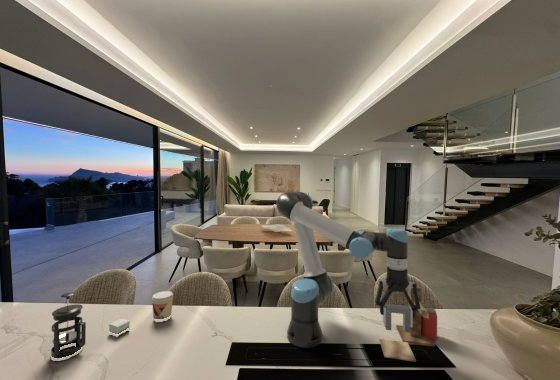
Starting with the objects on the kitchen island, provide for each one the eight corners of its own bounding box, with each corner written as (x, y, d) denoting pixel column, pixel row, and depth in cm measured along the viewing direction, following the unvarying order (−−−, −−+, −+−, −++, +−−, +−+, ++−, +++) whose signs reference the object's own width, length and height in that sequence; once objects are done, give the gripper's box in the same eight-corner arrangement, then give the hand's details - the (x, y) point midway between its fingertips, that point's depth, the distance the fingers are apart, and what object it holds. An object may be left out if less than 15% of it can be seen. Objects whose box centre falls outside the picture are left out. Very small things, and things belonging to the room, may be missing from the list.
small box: (117, 338, 104) (117, 326, 104) (108, 335, 106) (108, 324, 106) (130, 331, 109) (130, 320, 109) (121, 328, 111) (121, 317, 111)
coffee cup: (147, 323, 116) (147, 297, 116) (160, 313, 125) (160, 290, 125) (165, 325, 114) (165, 299, 114) (176, 315, 123) (176, 291, 123)
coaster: (384, 357, 93) (384, 355, 93) (379, 340, 104) (379, 338, 104) (416, 361, 91) (416, 360, 91) (407, 343, 102) (407, 342, 102)
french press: (41, 362, 89) (42, 299, 89) (64, 345, 98) (64, 288, 98) (73, 362, 89) (74, 299, 89) (93, 346, 98) (93, 289, 98)
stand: (408, 355, 95) (409, 298, 95) (396, 327, 114) (396, 280, 114) (443, 360, 92) (443, 301, 92) (424, 330, 111) (424, 282, 112)
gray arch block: (385, 329, 97) (385, 307, 97) (384, 325, 100) (384, 303, 100) (410, 332, 95) (410, 309, 95) (408, 328, 98) (408, 306, 98)
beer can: (439, 342, 103) (440, 314, 103) (422, 340, 104) (422, 312, 104) (433, 333, 109) (433, 306, 109) (417, 331, 111) (417, 305, 111)
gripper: (369, 268, 96) (369, 325, 96) (430, 272, 92) (430, 332, 91) (367, 263, 104) (367, 316, 103) (423, 266, 99) (423, 322, 99)
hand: (397, 324), depth 97 cm, fingers closed on gray arch block, 9 cm apart
